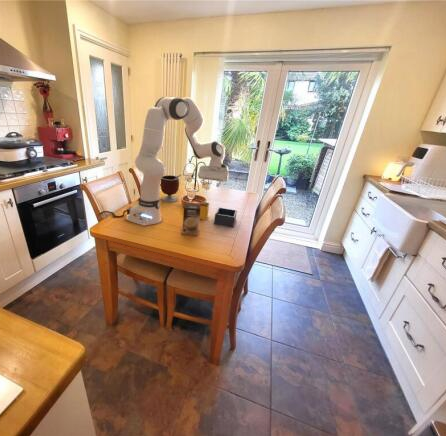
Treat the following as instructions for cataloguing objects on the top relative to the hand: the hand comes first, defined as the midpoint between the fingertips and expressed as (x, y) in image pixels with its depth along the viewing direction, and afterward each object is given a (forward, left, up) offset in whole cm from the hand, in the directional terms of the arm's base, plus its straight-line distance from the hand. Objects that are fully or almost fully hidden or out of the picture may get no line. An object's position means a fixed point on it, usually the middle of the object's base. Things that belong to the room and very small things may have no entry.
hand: (210, 185), depth 154 cm
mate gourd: (-32, +10, -18) cm, 38 cm away
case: (+14, -13, -18) cm, 26 cm away
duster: (0, -13, -18) cm, 22 cm away
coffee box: (-2, -35, -18) cm, 39 cm away
